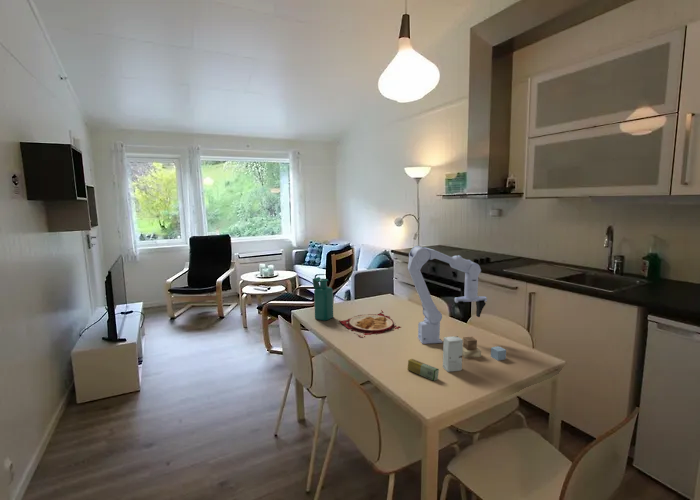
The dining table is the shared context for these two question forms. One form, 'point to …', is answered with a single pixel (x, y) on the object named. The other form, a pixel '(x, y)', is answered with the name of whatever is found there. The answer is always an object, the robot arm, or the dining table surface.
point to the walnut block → (470, 343)
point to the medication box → (423, 369)
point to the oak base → (471, 353)
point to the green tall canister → (323, 299)
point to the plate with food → (370, 323)
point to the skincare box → (452, 353)
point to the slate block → (498, 353)
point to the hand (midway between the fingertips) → (470, 316)
